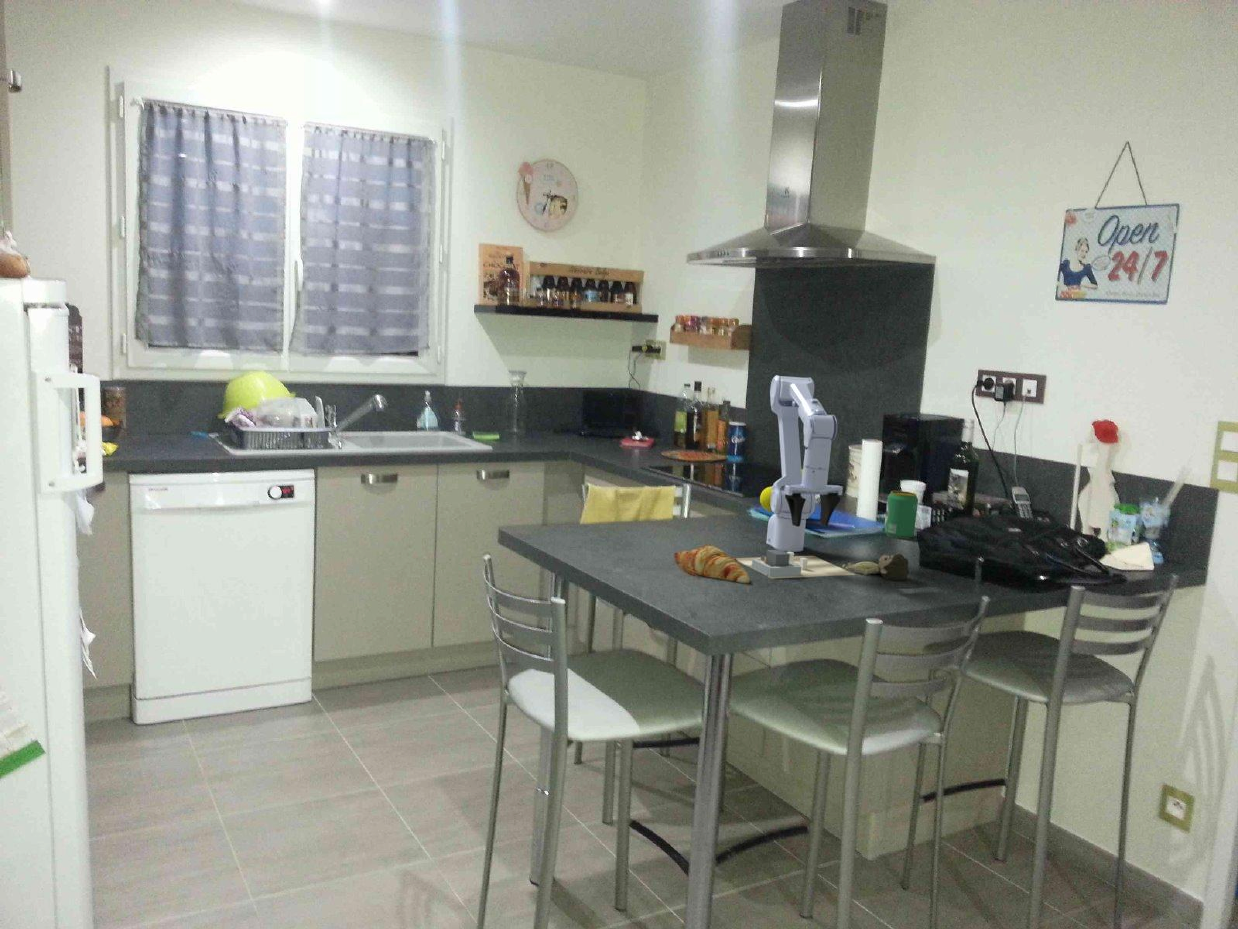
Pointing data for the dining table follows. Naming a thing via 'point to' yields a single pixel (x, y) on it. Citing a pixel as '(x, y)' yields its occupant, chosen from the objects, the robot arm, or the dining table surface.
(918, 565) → the dining table surface
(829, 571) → the board
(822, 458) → the robot arm
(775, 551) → the block
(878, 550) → the dining table surface
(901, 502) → the beverage can
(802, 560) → the twin white cubes
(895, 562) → the figurine
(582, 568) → the dining table surface
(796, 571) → the end holder
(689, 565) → the croissant
